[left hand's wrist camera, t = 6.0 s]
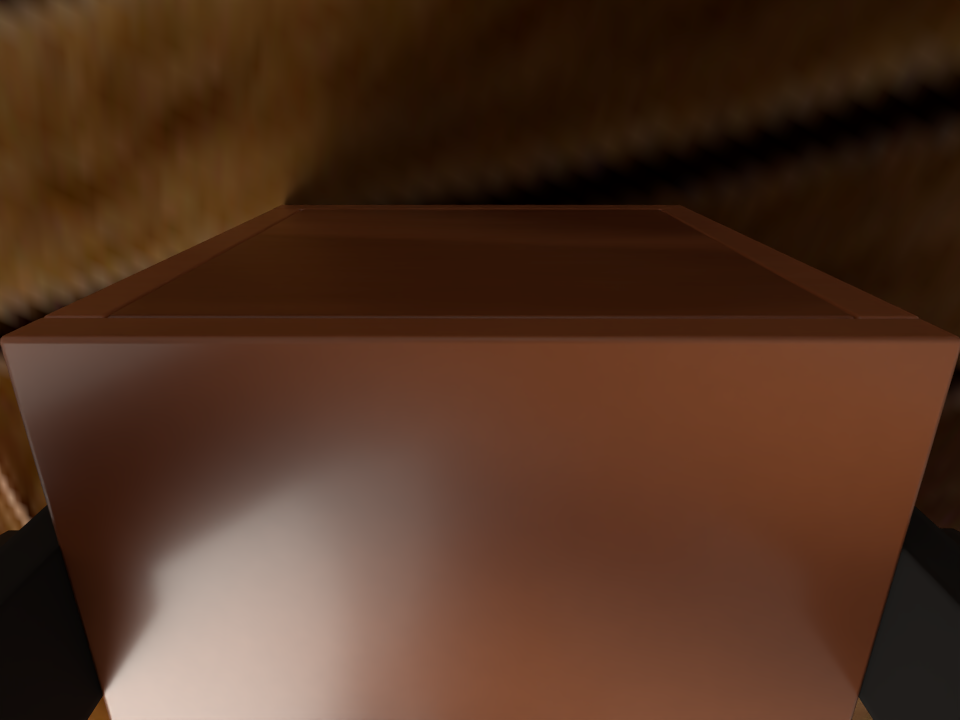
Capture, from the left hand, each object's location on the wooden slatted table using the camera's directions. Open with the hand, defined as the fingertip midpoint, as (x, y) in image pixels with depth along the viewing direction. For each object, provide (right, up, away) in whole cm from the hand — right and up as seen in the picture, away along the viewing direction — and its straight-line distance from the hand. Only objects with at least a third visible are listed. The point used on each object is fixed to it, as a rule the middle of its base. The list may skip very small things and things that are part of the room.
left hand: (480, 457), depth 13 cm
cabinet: (0, -2, +8) cm, 8 cm away
